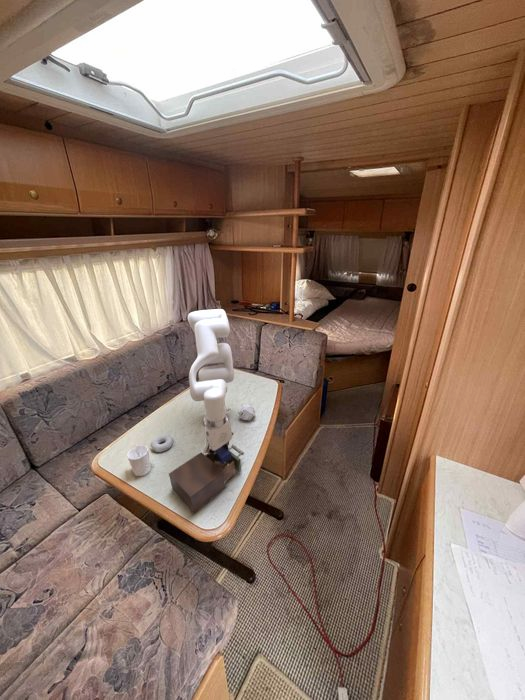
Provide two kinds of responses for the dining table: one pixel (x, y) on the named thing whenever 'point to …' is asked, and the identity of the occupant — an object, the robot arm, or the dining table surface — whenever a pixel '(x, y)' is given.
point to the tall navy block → (223, 454)
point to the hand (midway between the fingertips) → (220, 455)
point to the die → (246, 412)
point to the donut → (164, 446)
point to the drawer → (233, 463)
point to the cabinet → (197, 481)
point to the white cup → (139, 460)
